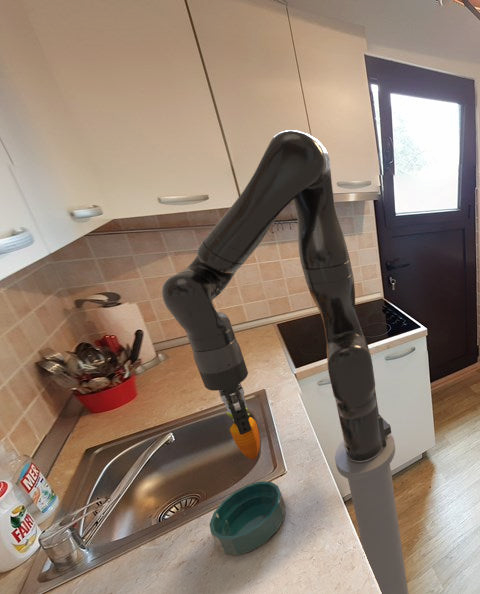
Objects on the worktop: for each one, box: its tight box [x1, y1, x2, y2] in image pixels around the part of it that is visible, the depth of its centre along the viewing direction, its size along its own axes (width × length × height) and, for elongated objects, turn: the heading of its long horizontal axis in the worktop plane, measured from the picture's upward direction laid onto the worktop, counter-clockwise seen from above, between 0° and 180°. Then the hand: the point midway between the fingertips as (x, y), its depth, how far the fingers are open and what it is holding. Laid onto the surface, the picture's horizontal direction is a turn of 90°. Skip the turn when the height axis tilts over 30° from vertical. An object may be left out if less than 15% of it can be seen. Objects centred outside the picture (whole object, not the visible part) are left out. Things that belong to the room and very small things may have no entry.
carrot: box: [226, 407, 261, 461], centre depth 75 cm, size 5×5×15 cm
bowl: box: [209, 481, 287, 556], centre depth 69 cm, size 12×12×6 cm
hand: (243, 425), depth 74 cm, fingers closed on carrot, 4 cm apart
